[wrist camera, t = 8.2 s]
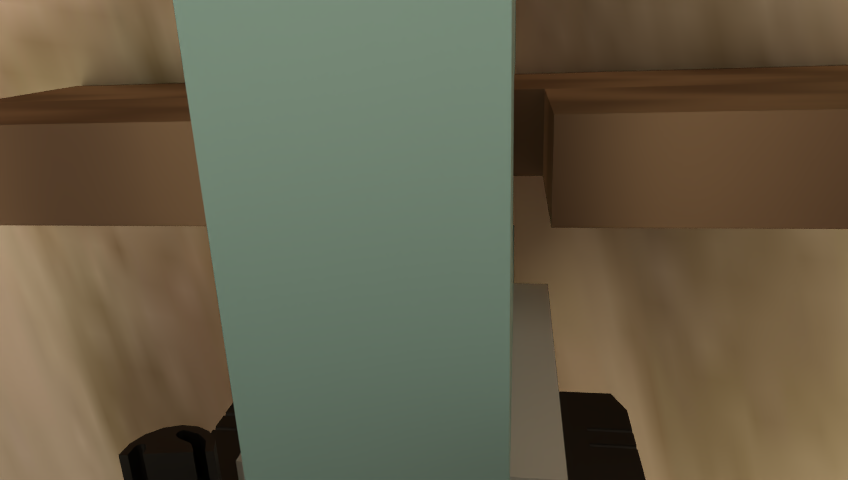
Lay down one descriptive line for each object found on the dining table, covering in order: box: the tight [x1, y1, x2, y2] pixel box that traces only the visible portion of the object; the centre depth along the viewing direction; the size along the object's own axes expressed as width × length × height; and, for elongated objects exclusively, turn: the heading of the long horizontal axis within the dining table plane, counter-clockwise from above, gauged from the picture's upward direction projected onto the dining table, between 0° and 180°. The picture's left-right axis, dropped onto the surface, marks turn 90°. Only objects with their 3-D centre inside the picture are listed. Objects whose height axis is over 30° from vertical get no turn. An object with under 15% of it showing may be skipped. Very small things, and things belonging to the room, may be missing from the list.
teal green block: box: [173, 0, 516, 480], centre depth 10 cm, size 3×14×8 cm, turn 2°
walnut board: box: [0, 65, 848, 229], centre depth 15 cm, size 26×2×8 cm, turn 92°
